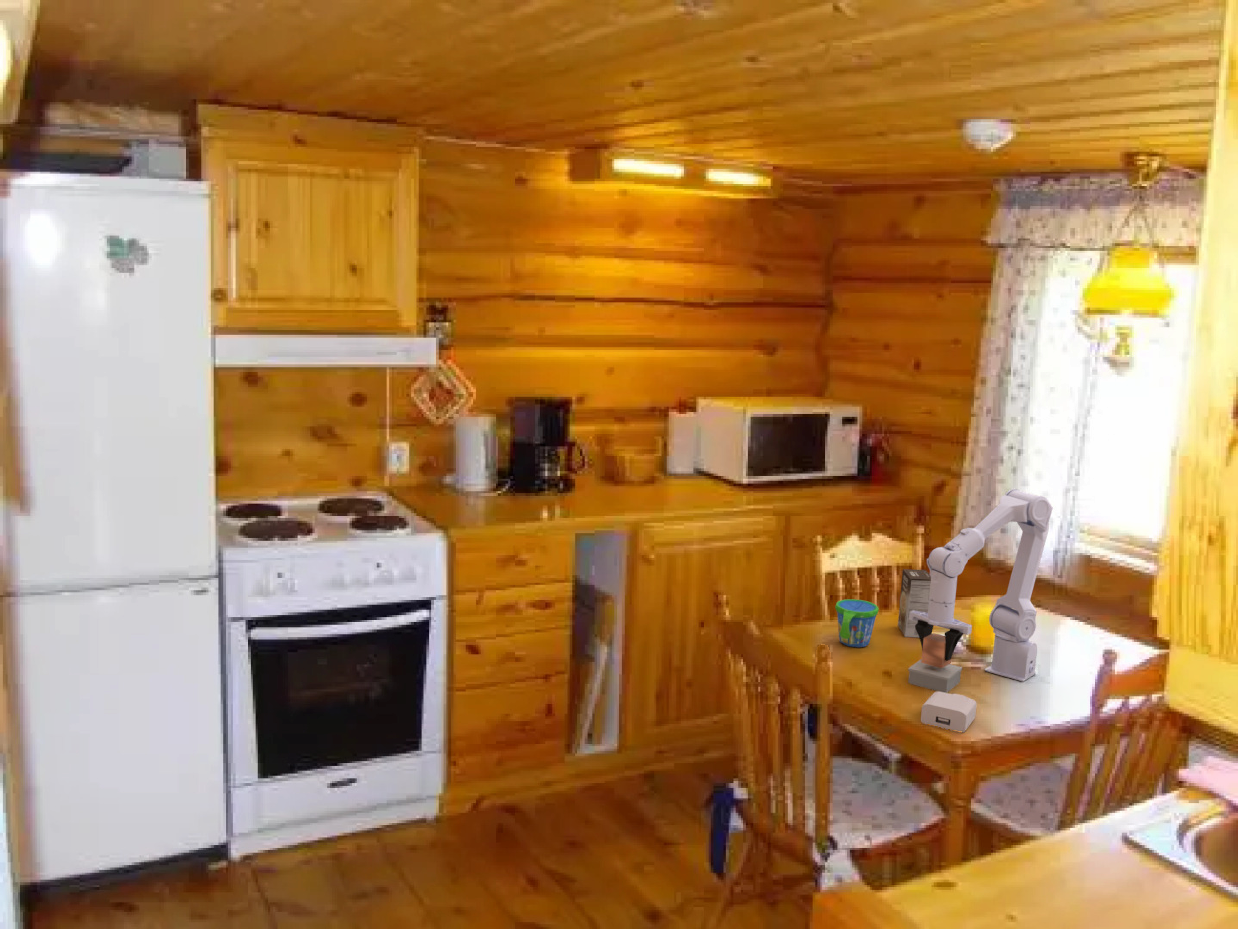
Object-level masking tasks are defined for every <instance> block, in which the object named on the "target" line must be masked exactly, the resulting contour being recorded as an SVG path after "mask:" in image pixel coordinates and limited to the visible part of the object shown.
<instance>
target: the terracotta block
mask: <svg viewBox="0 0 1238 929" xmlns="http://www.w3.org/2000/svg"><path fill="white" fill-rule="evenodd" d="M945 648H946V641H945V635H942V634H938V633H934V632H933V633H932V634H930V635H928V636H926V637H924V640H923V650H922V649H921V659H922V660H921V659H920V660H921V663H925V664H928V665H932V666H935V667H939V668H943V667H945V666H947V665H948V664H951V663H952V658H951V659H950V660H949V661H946V660H945Z"/></svg>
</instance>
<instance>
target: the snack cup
mask: <svg viewBox="0 0 1238 929" xmlns="http://www.w3.org/2000/svg"><path fill="white" fill-rule="evenodd" d="M834 607H835V610H836V613H837V627H838V638H839V643H841V644H843V645H844V646H847V647H853V648H865V647H867V646H868V645H869V644H870V642H871V638H872V633H873V631H874V630H873V629H874V627H875V622H876V617H877V615H878V613H879V610H880V608H879V607H878V605H877V604H875V603H873V602H871V601H867V600H862V599H857V598H855V599H851V598H850V599H849V598H847V599H841V600H838V601H837V602H835V606H834Z"/></svg>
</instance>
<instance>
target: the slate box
mask: <svg viewBox="0 0 1238 929" xmlns="http://www.w3.org/2000/svg"><path fill="white" fill-rule="evenodd" d="M921 660H922V658H921V659H919V660H918V661H916V662H915V663H914V664H912V665H911V666H909V667H908V669H907V670H908V681H907V682H908V684H909V683H910V685H914V686H916V687H921V688H924V687H925V688H924V689H929V690H933V691H935V692H944V693H948V692H951V690H952V689H953V688H955V687H956V686H957V685H958V684H960V682H961V674H962V670H963V666H960V665H956V664H951V663H950V664H948V665H947V666H945V667H943V668H939V667H935V666H932V665H928V664H925V663H921Z"/></svg>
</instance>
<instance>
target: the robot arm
mask: <svg viewBox="0 0 1238 929" xmlns="http://www.w3.org/2000/svg"><path fill="white" fill-rule="evenodd" d="M1053 509H1054V508H1053V506H1052V504H1051V502H1050V501H1049V499H1048V498H1047V497H1045V496H1043V495H1036V494H1033V493H1030V492H1026V491H1023V490H1020V489H1017V488H1011V489H1009V490H1008V491H1007V492H1005V494H1004V495H1002V496H1000V497H999V501H998V504H997V506H995V507H994V508H993V509H992V511H990V512H989V514H987V515H986V516H985V517H984V518H983V519H982V520H981V521H980V522H979V523H978V524H977V525H976V526H974V527H973V528H972V527H966V528H963V529H961V530H960V533H958V534H957V535H956V536H955V537H954V538H953V539H951V540H949V541H948V542H947V543H946V544H945V545H944V546H940V547H936V548H934V549H933V550H931V551H930V553H929V556H928V558H926V565H927V567H928V569H929V575H930V576H931V584H930V595H929V606H928V613H926V612H920V611H915V610H913V611H911V612H910V613H909V620H912V621H913V620H916V621H918V623H917V624H916V625H915V629H916V631H917V633H918V635H919V637H918V638H919V640H920V646H921V651H922V650H923V640H924V637H926V636H928V635H930V634H932V632H933V630H934V626H936V627H940V628H942V629H947V631H945V632H944V636H945V641H946V648H945V660H946V661H949V660H950V659H951V660H952V657H953V655H954V651H955V649H956V647H957V645H958V643H959V641H960V640H961V639H962V637H963V636H964V635H965V636H966V635H967V636H968V635H971V634H972V631H973V630H972V627H973V625H972V624H968V623H966V622H964V621H961V620H958V619H956V618H954V617H955V616H954V614H955V607H956V606H955V605H956V593H957V584H958V576H959V575H961V574H962V573H963V571H964V569H965V566H966V564H968V560H970V559H971V558H972V557H974V556H975V555H976V554H977V553H979V551H981V550H982V549H983V548H984V546H985V540H986V539H987V538H989V537H990V536H992V535H993V534H994V533H996V532H998V531H999V530H1000V529H1001V528H1003V527H1005V526H1006V525H1007V524H1009V523H1010V522H1011V523H1012V522H1013V523H1017V525H1018V526H1019V528H1020V529H1021V531H1022V533H1021V535H1020V540H1019V544H1018V548H1017V552H1016V556H1015V559H1014V563H1013V568H1012V572H1011V575H1010V578H1009V583H1008V587H1007V589H1006V590H1007V591H1006V594H1004V595H1002V596H1001V597H999V598H997V599H996V602H995V606H994V607H993V609H992V610H991V611H990V614H989V625H990V627H991V628H992V629H993V630H992V631H993V633H994V640H993V641H994V642H993V651H992V658H991V659H992V660H991V664H990V665H989V666H988V667H986V668H985V669H984V671H985V672H988V673H992V674H995V675H999V676H1001V677H1005V678H1009V679H1013V680H1015V681H1020V682H1024V681H1026V680H1028V679H1029V678H1031V677H1032V676H1034V675H1036V674H1037V672H1036V665H1037V664H1036V663H1037V657H1038V656H1037V654H1038V645H1037V643H1036V642H1034V641H1031V640H1030V639H1031V638H1032V637H1033V635H1034V634H1035V631H1036V628H1037V622H1036V616H1037V613H1038V612H1037V610H1036V608H1035V606H1034V604H1033V603H1032V602H1031V597H1032V595H1033V594H1032V593H1033V590H1034V586H1035V583H1036V580H1037V575H1038V571H1039V568H1040V564H1041V559H1042V556H1043V553H1044V549H1045V545H1046V540H1047V537H1048V533H1049V528H1050V520H1051V515H1052V511H1053Z"/></svg>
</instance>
